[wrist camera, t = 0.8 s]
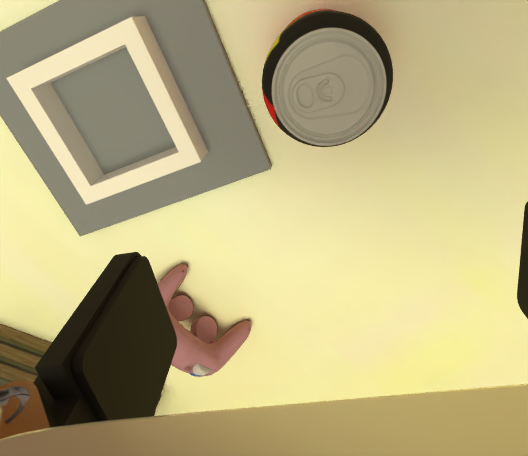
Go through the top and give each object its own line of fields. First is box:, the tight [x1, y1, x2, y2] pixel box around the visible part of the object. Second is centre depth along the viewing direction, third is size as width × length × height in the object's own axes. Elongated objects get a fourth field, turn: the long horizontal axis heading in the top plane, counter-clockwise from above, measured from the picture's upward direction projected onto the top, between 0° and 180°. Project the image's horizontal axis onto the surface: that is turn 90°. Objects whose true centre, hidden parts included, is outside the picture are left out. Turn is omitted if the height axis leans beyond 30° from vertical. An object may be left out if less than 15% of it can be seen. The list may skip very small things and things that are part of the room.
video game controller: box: [158, 264, 251, 377], centre depth 39 cm, size 10×5×7 cm, turn 43°
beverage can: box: [262, 9, 393, 147], centre depth 24 cm, size 6×6×12 cm
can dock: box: [0, 0, 272, 236], centre depth 31 cm, size 18×16×3 cm
